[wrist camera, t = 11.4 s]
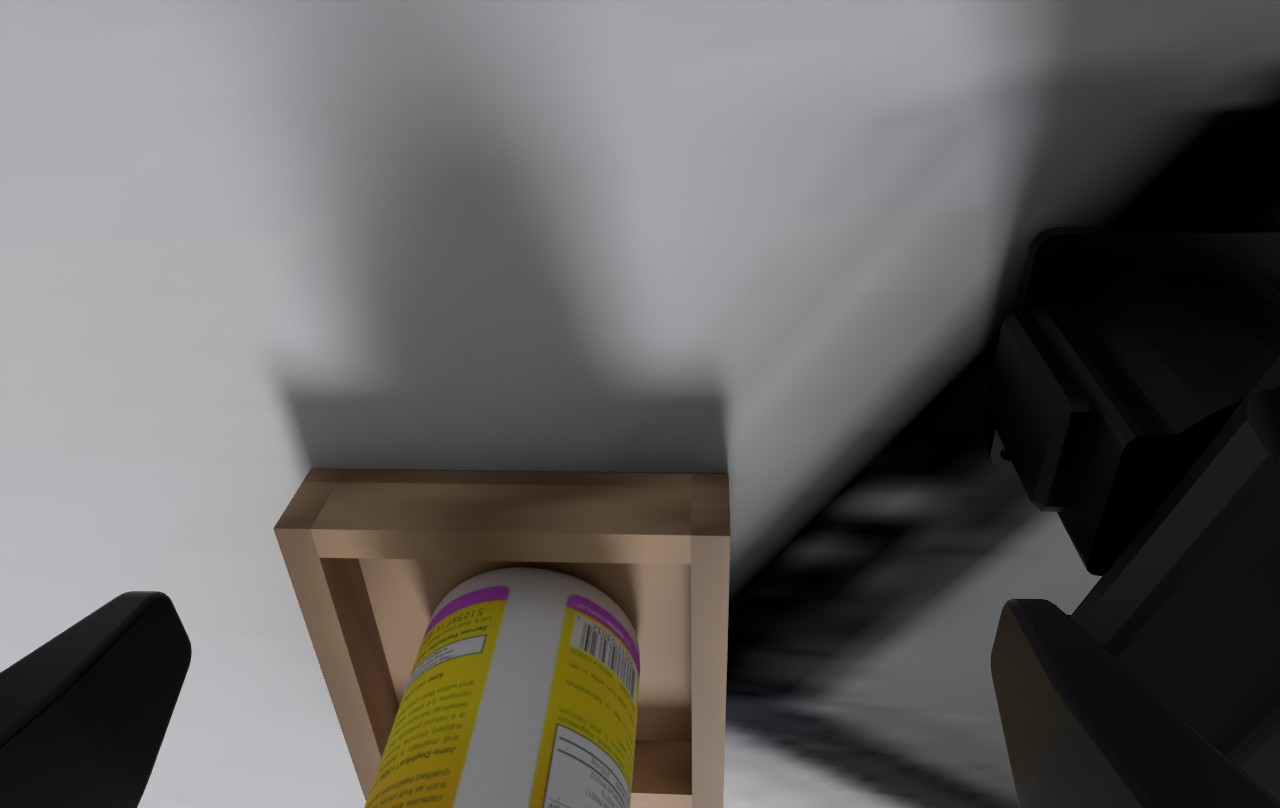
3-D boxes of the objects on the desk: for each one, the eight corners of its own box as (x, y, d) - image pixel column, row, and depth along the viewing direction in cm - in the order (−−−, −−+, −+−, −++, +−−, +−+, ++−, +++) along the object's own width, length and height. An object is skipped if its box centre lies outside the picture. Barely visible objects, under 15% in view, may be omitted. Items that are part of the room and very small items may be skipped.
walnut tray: (728, 473, 25) (730, 536, 22) (721, 745, 31) (722, 814, 29) (310, 469, 25) (273, 528, 23) (389, 734, 32) (366, 800, 30)
